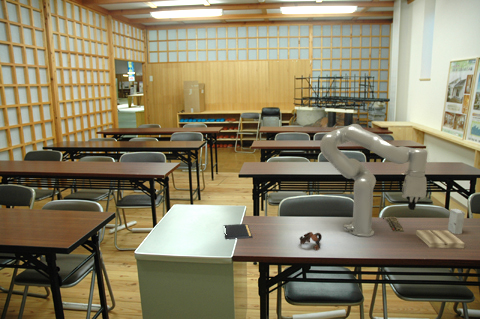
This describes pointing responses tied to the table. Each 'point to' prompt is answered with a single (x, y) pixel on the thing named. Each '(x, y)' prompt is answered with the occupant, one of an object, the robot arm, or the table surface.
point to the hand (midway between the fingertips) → (411, 208)
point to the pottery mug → (313, 237)
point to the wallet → (237, 231)
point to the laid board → (448, 238)
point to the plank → (430, 239)
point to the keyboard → (394, 224)
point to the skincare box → (456, 221)
